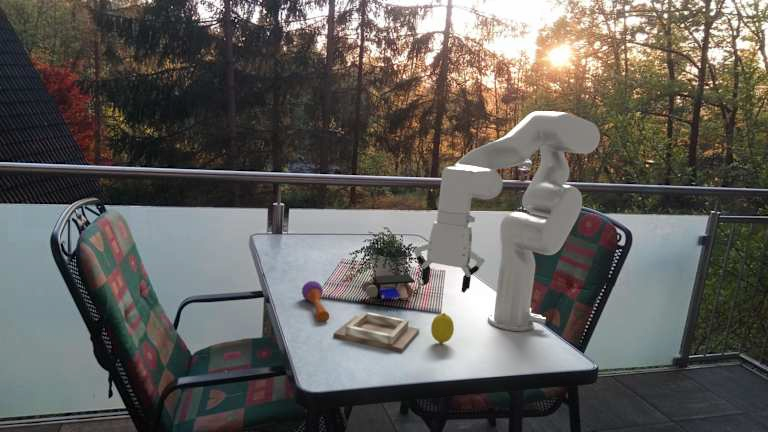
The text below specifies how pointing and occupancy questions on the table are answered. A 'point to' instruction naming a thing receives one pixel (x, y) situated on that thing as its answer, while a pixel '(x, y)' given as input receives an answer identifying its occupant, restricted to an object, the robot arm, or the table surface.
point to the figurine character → (375, 292)
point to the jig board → (378, 331)
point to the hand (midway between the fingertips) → (444, 287)
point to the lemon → (442, 328)
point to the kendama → (315, 299)
